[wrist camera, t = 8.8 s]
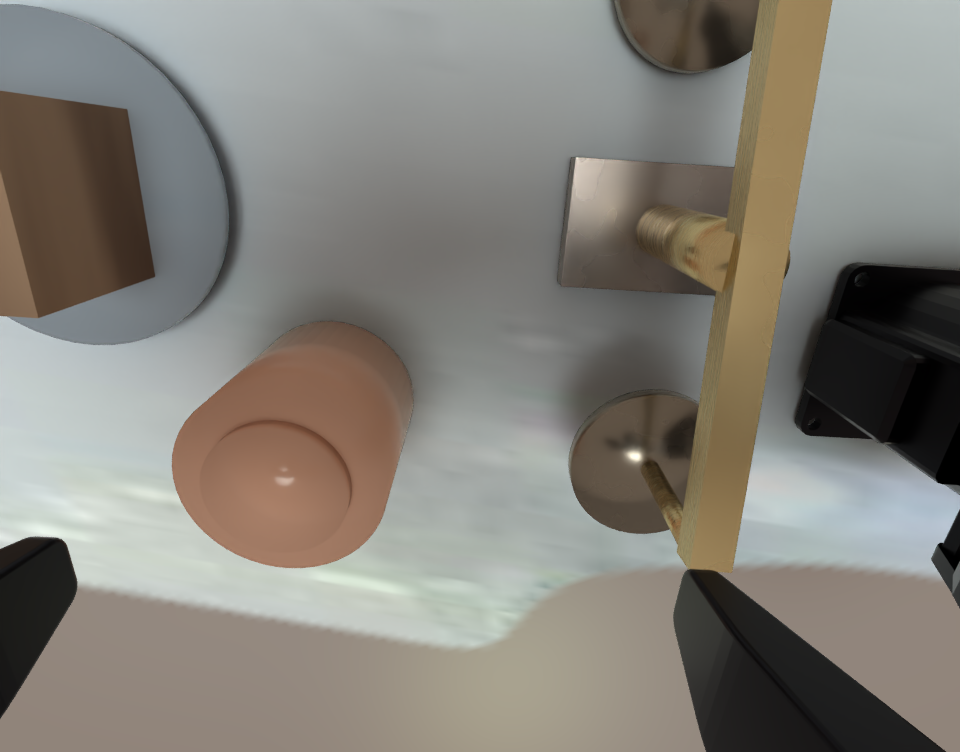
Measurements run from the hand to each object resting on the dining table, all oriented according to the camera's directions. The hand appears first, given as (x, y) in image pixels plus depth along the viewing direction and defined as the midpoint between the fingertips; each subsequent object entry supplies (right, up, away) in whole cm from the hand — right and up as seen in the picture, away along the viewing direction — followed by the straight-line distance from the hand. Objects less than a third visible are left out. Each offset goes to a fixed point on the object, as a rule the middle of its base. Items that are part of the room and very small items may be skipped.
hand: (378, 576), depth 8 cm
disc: (-12, +9, +10) cm, 18 cm away
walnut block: (-12, +9, +9) cm, 17 cm away
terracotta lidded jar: (-4, +2, +13) cm, 14 cm away
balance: (+7, +8, +10) cm, 15 cm away
